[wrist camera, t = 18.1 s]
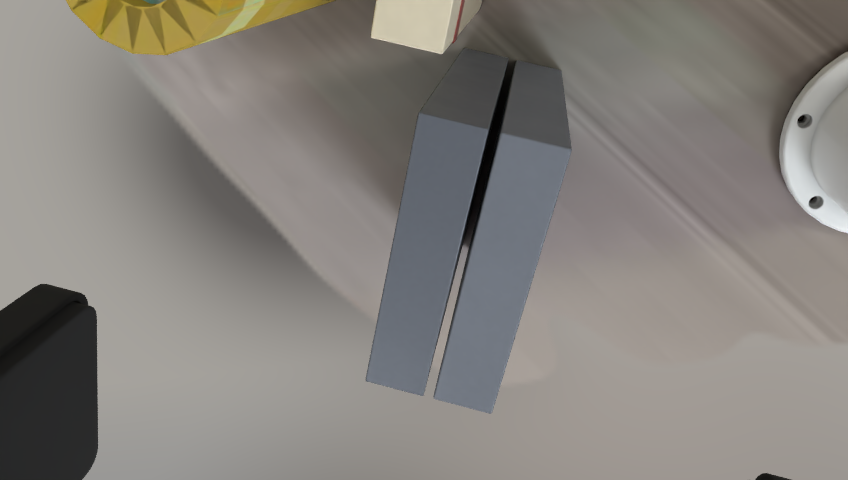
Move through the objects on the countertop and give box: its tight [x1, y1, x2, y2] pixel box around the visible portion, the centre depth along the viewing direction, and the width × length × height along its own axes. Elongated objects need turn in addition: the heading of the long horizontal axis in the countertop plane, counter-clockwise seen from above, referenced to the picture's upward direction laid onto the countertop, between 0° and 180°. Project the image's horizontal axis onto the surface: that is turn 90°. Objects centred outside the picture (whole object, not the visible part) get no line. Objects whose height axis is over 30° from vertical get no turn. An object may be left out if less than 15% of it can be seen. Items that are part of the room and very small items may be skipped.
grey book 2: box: [366, 48, 508, 396], centre depth 40 cm, size 3×14×18 cm, turn 169°
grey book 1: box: [434, 60, 572, 413], centre depth 39 cm, size 3×14×18 cm, turn 168°
